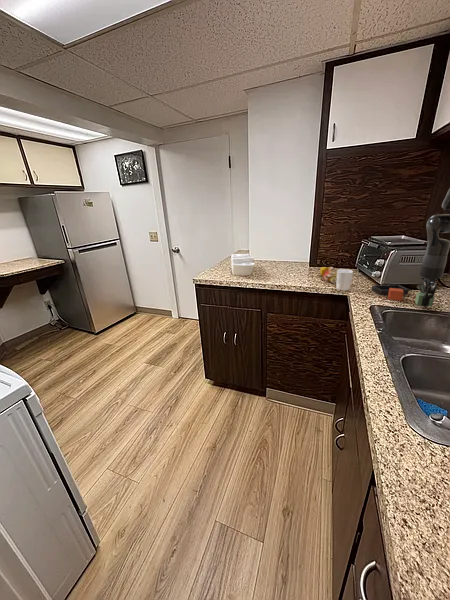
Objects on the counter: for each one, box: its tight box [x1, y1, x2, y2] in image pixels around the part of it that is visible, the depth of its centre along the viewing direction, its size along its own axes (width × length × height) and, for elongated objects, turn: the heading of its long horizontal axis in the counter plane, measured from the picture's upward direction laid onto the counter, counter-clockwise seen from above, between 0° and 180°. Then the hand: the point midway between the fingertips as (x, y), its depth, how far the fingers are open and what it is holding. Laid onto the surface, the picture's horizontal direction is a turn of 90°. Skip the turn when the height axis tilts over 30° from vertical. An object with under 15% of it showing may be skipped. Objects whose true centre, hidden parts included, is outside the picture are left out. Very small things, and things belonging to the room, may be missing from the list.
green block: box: [414, 292, 435, 308], centre depth 107 cm, size 5×4×5 cm
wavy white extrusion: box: [230, 253, 256, 276], centre depth 179 cm, size 35×16×11 cm, turn 178°
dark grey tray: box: [370, 284, 410, 296], centre depth 127 cm, size 14×8×2 cm, turn 91°
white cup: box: [335, 268, 354, 292], centre depth 133 cm, size 8×8×10 cm
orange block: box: [387, 288, 404, 302], centre depth 118 cm, size 5×4×5 cm
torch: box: [319, 266, 337, 285], centre depth 152 cm, size 8×8×25 cm
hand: (423, 303), depth 108 cm, fingers closed on green block, 4 cm apart
